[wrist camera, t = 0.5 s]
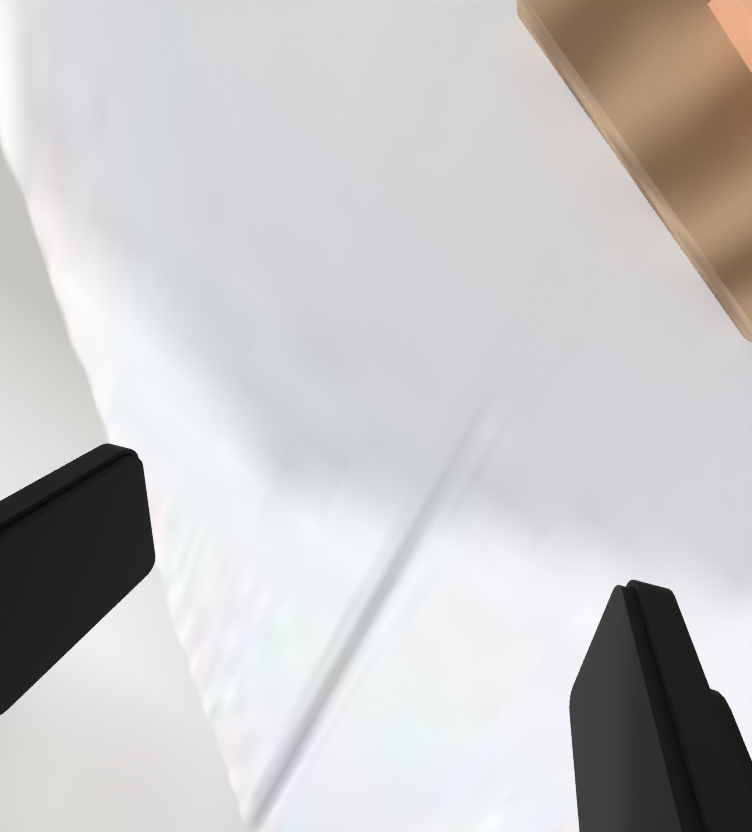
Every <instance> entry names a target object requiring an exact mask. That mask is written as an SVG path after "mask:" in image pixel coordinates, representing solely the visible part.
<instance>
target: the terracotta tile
mask: <svg viewBox="0 0 752 832" xmlns="http://www.w3.org/2000/svg"><path fill="white" fill-rule="evenodd" d="M708 6H709V7H710V9H711V11H712V12H713V14H714V15H715V17H716V18H717V20H718V21H719V23H720V25H721V26H722V28H723V29H724V31H725V32H726V34H727V35H728V37H729V38H730V40H731V42H732V43H733V45H734V46H735V48H736V49H737V51H738V52H739V54H740V56H741V57H742V59H743V60H744V62H745V63H746V65H747V66H748V68H749V69H750V71H751V73H752V0H711V1H710V2H709V3H708Z"/></svg>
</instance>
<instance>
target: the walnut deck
mask: <svg viewBox="0 0 752 832" xmlns="http://www.w3.org/2000/svg"><path fill="white" fill-rule="evenodd" d="M710 1H711V0H517V8H518V16H519V18H520V19H521V20H522V22H523V23H524V25H525V26H526V28H527V29H528V30H529V32H530V33H531V35H532V36H533V38H534V39H535V40H536V42H537V43H538V45H539V46H540V48H541V49H542V50H543V52H544V53H545V55H546V56H547V58H548V59H549V60H550V62H551V63H552V65H553V66H554V68H555V69H556V70H557V72H558V73H559V75H560V76H561V77H562V79H563V80H564V82H565V83H566V85H567V86H568V87H569V89H570V90H571V92H572V93H573V95H574V96H575V97H576V99H577V100H578V102H579V103H580V105H581V106H582V107H583V109H584V110H585V112H586V113H587V115H588V116H589V117H590V119H591V120H592V122H593V123H594V125H595V126H596V127H597V129H598V130H599V132H600V133H601V135H602V136H603V137H604V139H605V140H606V142H607V143H608V144H609V146H610V147H611V149H612V150H613V152H614V153H615V154H616V156H617V157H618V159H619V160H620V162H621V163H622V164H623V166H624V167H625V169H626V170H627V172H628V173H629V174H630V176H631V177H632V179H633V180H634V182H635V183H636V184H637V186H638V187H639V189H640V190H641V192H642V193H643V194H644V196H645V197H646V199H647V200H648V202H649V203H650V204H651V206H652V207H653V209H654V210H655V211H656V213H657V214H658V216H659V217H660V219H661V220H662V221H663V223H664V224H665V226H666V227H667V229H668V230H669V231H670V233H671V234H672V236H673V237H674V239H675V240H676V241H677V243H678V244H679V246H680V247H681V249H682V250H683V251H684V253H685V254H686V256H687V257H688V259H689V260H690V261H691V263H692V264H693V266H694V267H695V269H696V270H697V271H698V273H699V274H700V276H701V277H702V278H703V280H704V281H705V283H706V284H707V286H708V287H709V288H710V290H711V291H712V293H713V294H714V296H715V297H716V298H717V300H718V301H719V303H720V304H721V306H722V307H723V308H724V310H725V311H726V313H727V314H728V316H729V317H730V318H731V320H732V321H733V323H734V324H735V326H736V327H737V328H738V330H739V331H740V333H741V334H742V336H743V337H744V338H746V339H747V340H749V341H751V342H752V73H751V71H750V69H749V68H748V66H747V65H746V63H745V62H744V60H743V59H742V57H741V56H740V54H739V52H738V51H737V49H736V48H735V46H734V45H733V43H732V42H731V40H730V38H729V37H728V35H727V34H726V32H725V31H724V29H723V28H722V26H721V25H720V23H719V21H718V20H717V18H716V17H715V15H714V14H713V12H712V11H711V9H710V7H709V6H708V3H709V2H710Z"/></svg>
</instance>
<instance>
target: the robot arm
mask: <svg viewBox="0 0 752 832" xmlns="http://www.w3.org/2000/svg"><path fill="white" fill-rule="evenodd" d="M154 563H155V550H154V543H153V536H152V528H151V521H150V513H149V506H148V499H147V491H146V484H145V477H144V469H143V464H142V461H141V460H140V459H139V458H138V455H137V453H136V452H135V451H134V450H132V449H128V448H125V447H121V446H117V445H113V444H103V445H100V446H98V447H97V448H95V449H93V450H91V451H89V452H88V453H86V454H84V455H82V456H80V457H79V458H77V459H75V460H73V461H71V462H70V463H68V464H66V465H65V466H62V467H61V468H59V469H57V470H55V471H53V472H52V473H50V474H48V475H46V476H44V477H42V478H41V479H39V480H37V481H35V482H34V483H32V484H30V485H28V486H26V487H24V488H23V489H21V490H19V491H17V492H15V493H14V494H12V495H10V496H8V497H6V498H5V499H3V500H1V501H0V715H1V714H3V713H4V712H5V711H6V710H8V709H9V708H10V707H11V706H12V705H13V704H14V703H15V702H16V701H17V700H18V699H19V698H20V697H21V696H22V695H23V694H24V693H25V692H26V691H28V690H29V688H30V687H32V686H33V685H34V684H35V683H36V682H37V681H38V680H39V679H40V678H41V677H42V676H43V675H44V674H45V673H46V672H47V671H48V670H49V669H50V668H51V667H52V666H53V665H54V664H55V663H57V662H58V661H59V660H60V659H61V658H62V657H63V656H64V655H65V654H66V653H67V652H68V651H69V650H70V649H71V648H72V647H73V646H74V645H75V644H76V643H77V642H78V641H79V640H80V639H81V638H82V637H84V636H85V635H86V634H87V633H88V632H89V631H90V630H91V629H92V628H93V627H94V626H95V625H96V624H97V623H98V622H99V621H100V620H101V619H102V618H103V617H104V616H105V615H106V614H107V613H108V612H109V611H110V610H111V609H112V608H113V607H115V606H116V605H117V604H118V603H119V602H120V601H121V600H122V599H123V598H124V597H125V596H126V595H127V594H128V593H129V592H130V591H131V590H132V589H133V588H134V587H135V586H136V585H137V584H138V583H140V582H141V581H142V580H143V579H144V578H145V576H147V575H148V574H149V572H150V571H151V569H152V568H153V565H154ZM569 709H570V723H571V735H572V747H573V759H574V771H575V783H576V795H577V807H578V818H579V830H580V832H752V760H751V758H750V756H749V753H748V751H747V748H746V746H745V743H744V741H743V738H742V736H741V733H740V731H739V728H738V726H737V724H736V721H735V719H734V716H733V714H732V711H731V709H730V707H729V705H728V703H727V701H726V700H725V698H724V697H723V696H722V695H721V694H720V693H719V692H718V691H715V690H712V689H710V687H709V685H708V682H707V680H706V677H705V674H704V672H703V669H702V666H701V664H700V661H699V658H698V656H697V653H696V651H695V648H694V645H693V643H692V640H691V637H690V635H689V632H688V630H687V627H686V624H685V622H684V619H683V616H682V614H681V611H680V609H679V606H678V603H677V601H676V598H675V596H674V594H673V592H672V591H671V590H670V589H667V588H663V587H660V586H656V585H652V584H648V583H644V582H640V581H636V580H630V581H629V582H628V584H627V585H626V587H624V586H621V585H617V586H616V587H615V588H614V590H613V592H612V594H611V596H610V599H609V601H608V604H607V606H606V608H605V611H604V613H603V616H602V618H601V620H600V623H599V625H598V628H597V630H596V632H595V635H594V637H593V640H592V642H591V644H590V647H589V649H588V652H587V654H586V656H585V659H584V661H583V663H582V666H581V668H580V671H579V673H578V675H577V678H576V680H575V683H574V685H573V688H572V691H571V695H570V706H569Z"/></svg>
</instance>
